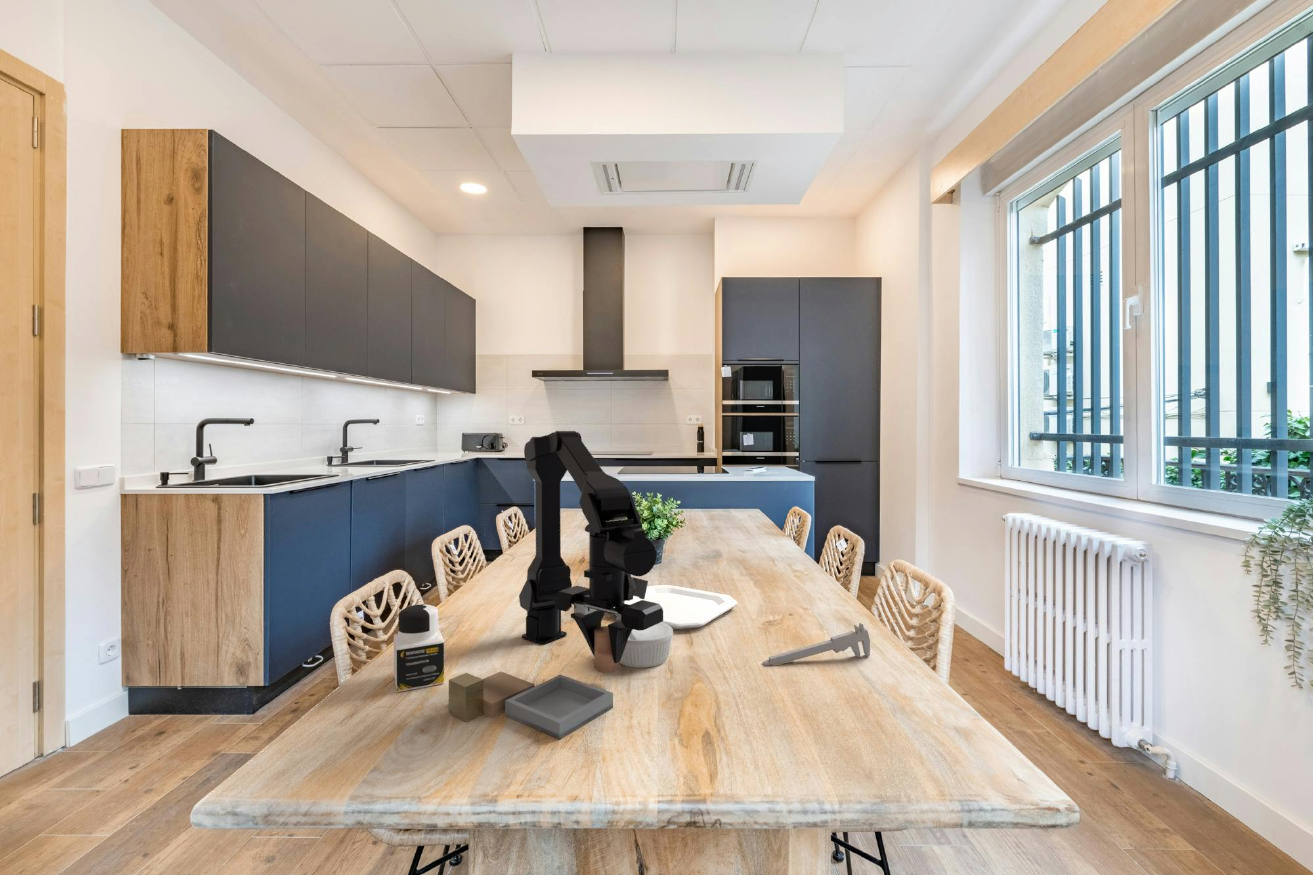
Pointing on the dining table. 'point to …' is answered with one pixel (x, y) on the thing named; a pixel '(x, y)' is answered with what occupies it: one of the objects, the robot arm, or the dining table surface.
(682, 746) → the dining table surface
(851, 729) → the dining table surface
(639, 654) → the ramekin
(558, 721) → the tray
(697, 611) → the plate
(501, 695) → the board
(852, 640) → the caliper
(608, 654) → the dowel
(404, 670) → the medicine bottle
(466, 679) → the rectangular block
